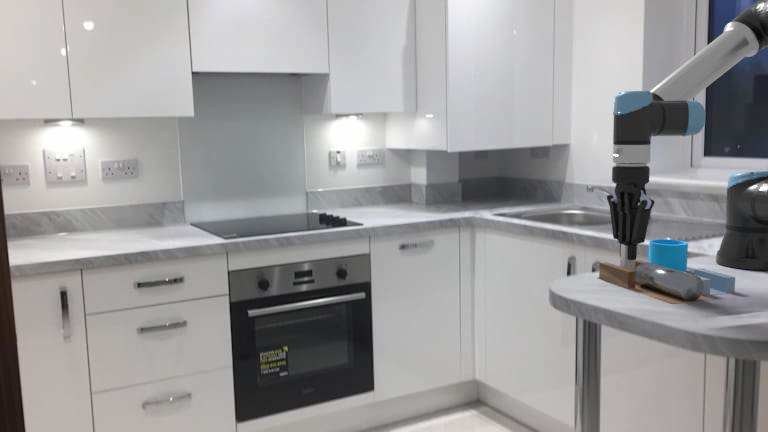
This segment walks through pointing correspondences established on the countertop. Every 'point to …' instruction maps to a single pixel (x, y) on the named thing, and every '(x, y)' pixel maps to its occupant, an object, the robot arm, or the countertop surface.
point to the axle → (669, 281)
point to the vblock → (715, 282)
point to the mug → (669, 254)
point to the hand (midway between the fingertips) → (627, 273)
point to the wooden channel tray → (628, 281)
